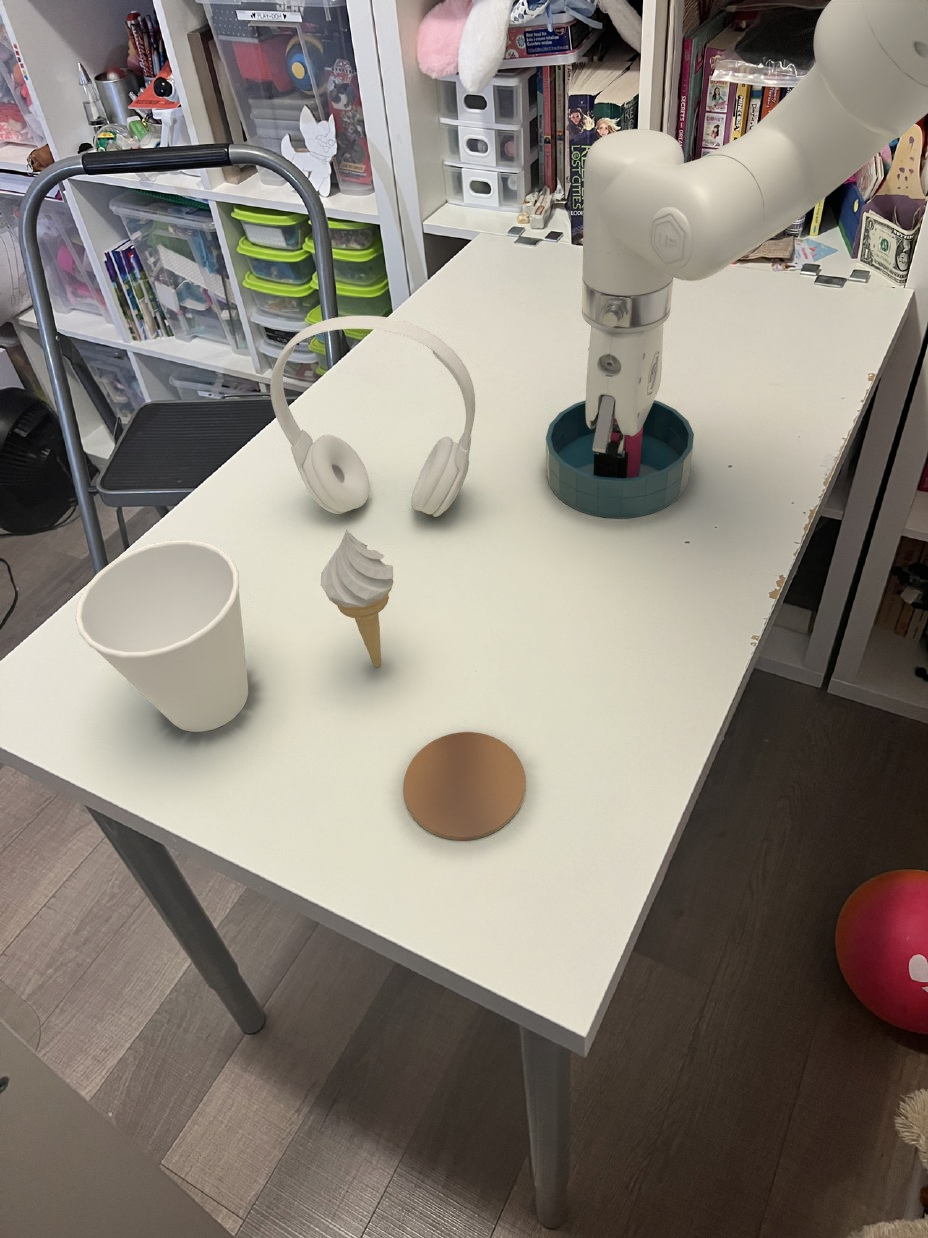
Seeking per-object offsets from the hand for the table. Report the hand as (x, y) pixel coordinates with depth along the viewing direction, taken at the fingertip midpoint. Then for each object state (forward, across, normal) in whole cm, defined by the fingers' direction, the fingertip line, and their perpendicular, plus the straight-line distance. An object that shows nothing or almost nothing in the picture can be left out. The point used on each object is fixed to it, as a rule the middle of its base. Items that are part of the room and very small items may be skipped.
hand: (617, 466), depth 88 cm
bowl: (+1, 0, 0) cm, 1 cm away
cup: (+1, -38, +24) cm, 45 cm away
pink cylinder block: (0, 0, 0) cm, 0 cm away
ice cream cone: (+1, -30, +12) cm, 33 cm away
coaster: (+1, -39, +1) cm, 39 cm away
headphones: (+1, -11, +20) cm, 23 cm away
